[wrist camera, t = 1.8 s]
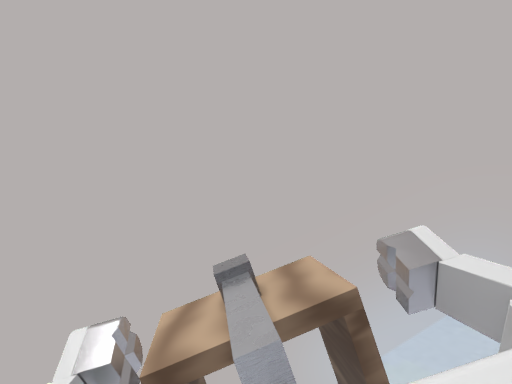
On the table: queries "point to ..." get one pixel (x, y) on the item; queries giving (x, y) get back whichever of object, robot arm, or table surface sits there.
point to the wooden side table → (284, 319)
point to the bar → (251, 326)
